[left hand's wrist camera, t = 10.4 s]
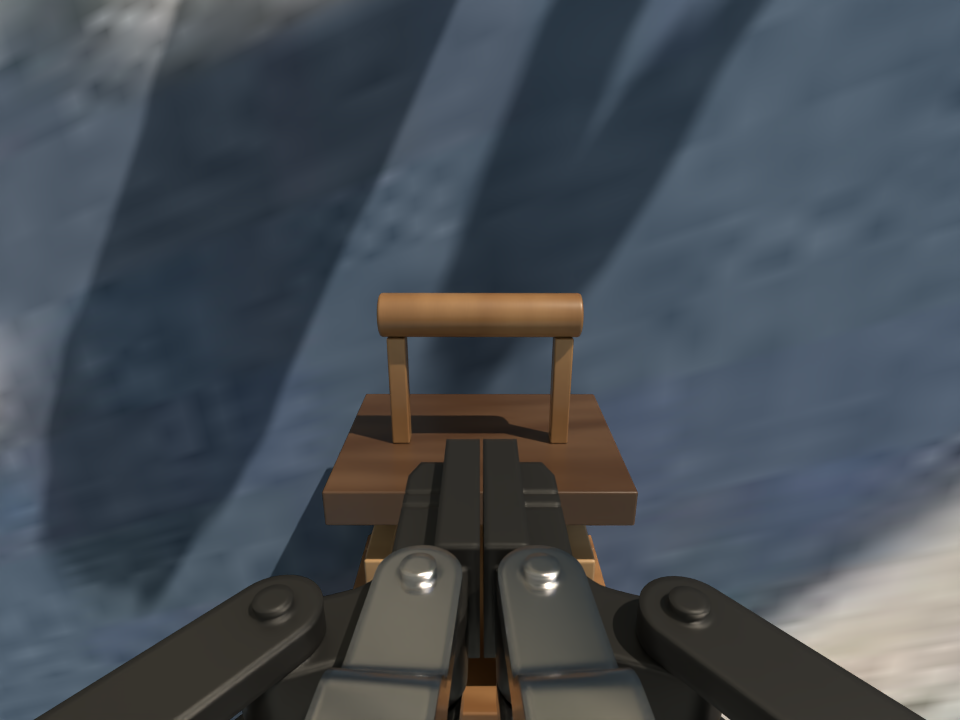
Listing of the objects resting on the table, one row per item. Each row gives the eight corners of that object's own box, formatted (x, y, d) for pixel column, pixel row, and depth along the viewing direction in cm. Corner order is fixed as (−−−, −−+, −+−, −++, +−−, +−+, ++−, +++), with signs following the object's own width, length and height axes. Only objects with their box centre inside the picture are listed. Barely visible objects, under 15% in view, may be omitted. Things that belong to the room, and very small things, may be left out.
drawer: (356, 268, 22) (302, 323, 15) (603, 268, 22) (657, 323, 15) (391, 747, 31) (367, 913, 24) (566, 747, 31) (590, 913, 24)
